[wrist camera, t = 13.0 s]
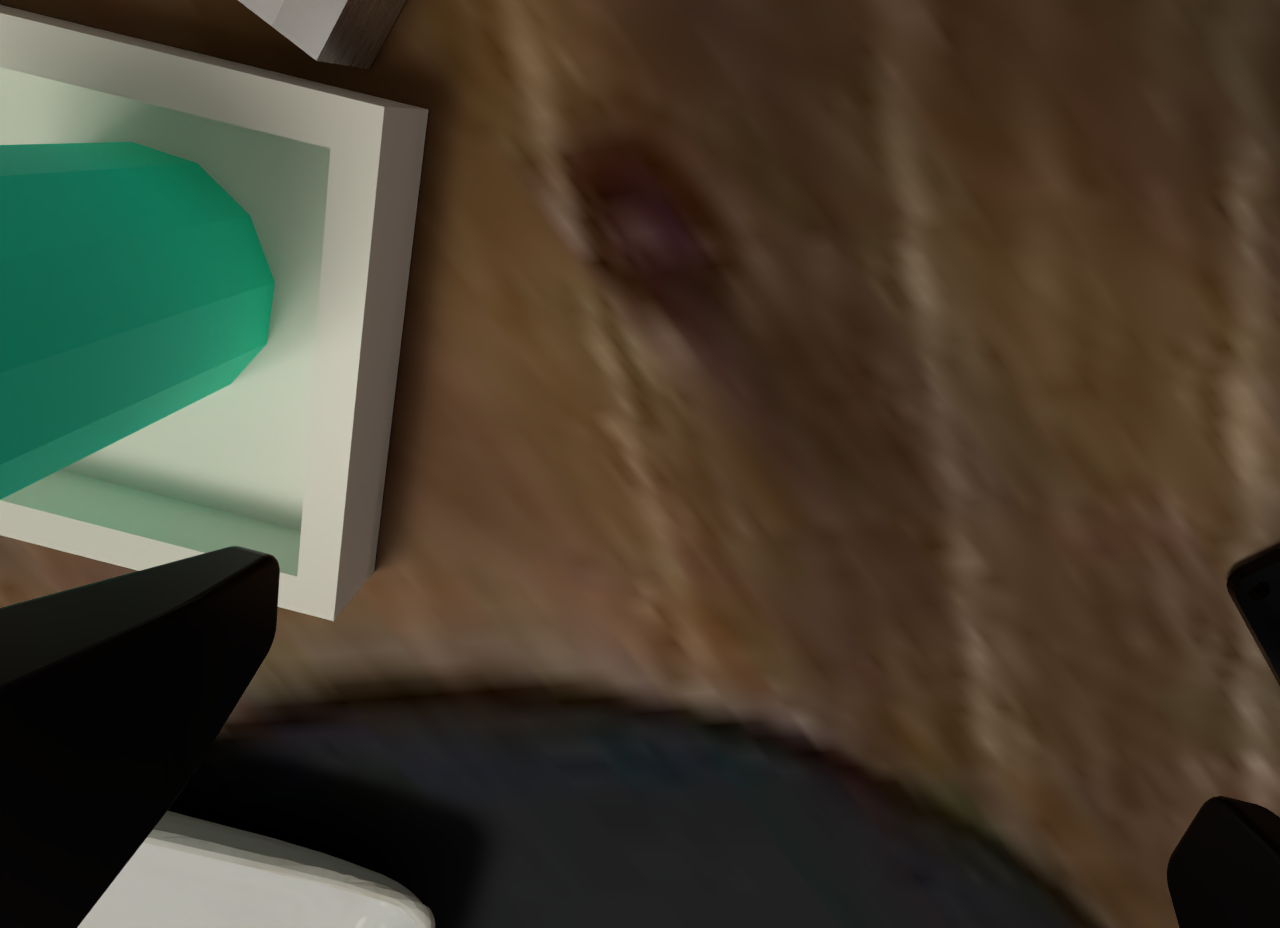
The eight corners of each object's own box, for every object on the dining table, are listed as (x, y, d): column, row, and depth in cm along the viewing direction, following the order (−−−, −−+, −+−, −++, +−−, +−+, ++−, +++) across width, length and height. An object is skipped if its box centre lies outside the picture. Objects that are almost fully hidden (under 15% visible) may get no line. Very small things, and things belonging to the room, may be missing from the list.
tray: (428, 109, 19) (384, 107, 17) (374, 572, 23) (333, 621, 21) (-90, -18, 19) (-205, -38, 17) (-44, 465, 24) (-129, 501, 21)
